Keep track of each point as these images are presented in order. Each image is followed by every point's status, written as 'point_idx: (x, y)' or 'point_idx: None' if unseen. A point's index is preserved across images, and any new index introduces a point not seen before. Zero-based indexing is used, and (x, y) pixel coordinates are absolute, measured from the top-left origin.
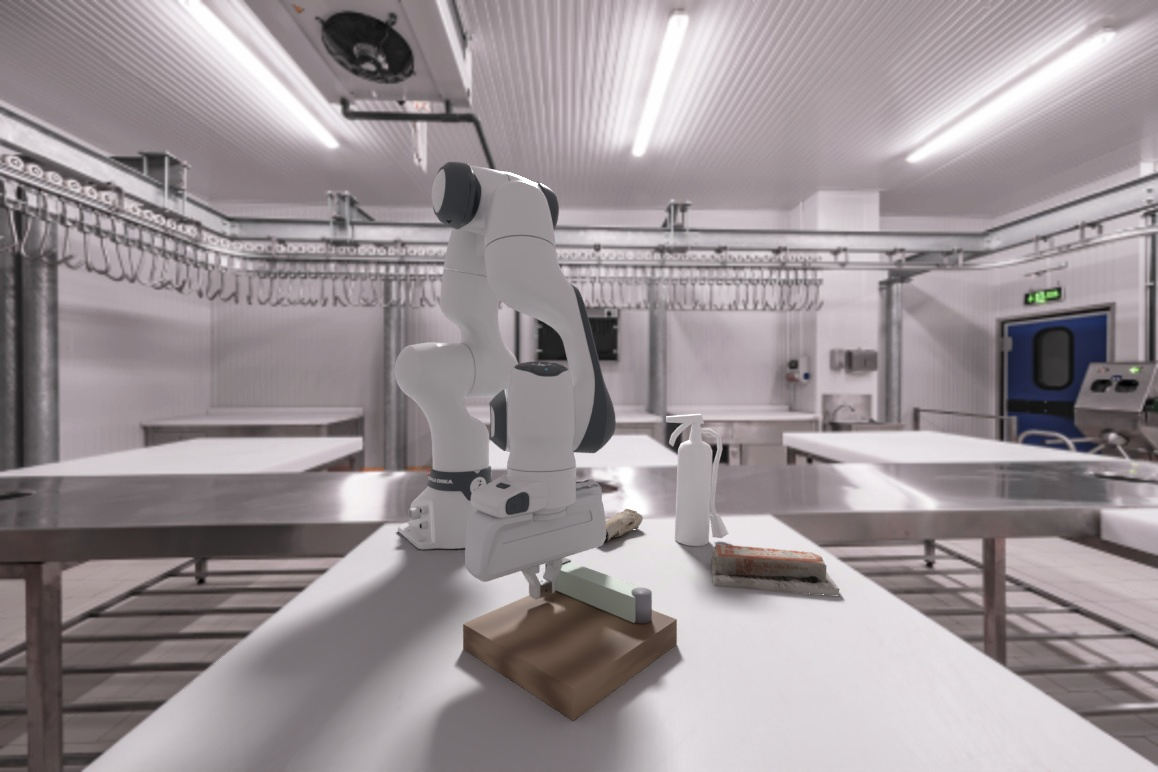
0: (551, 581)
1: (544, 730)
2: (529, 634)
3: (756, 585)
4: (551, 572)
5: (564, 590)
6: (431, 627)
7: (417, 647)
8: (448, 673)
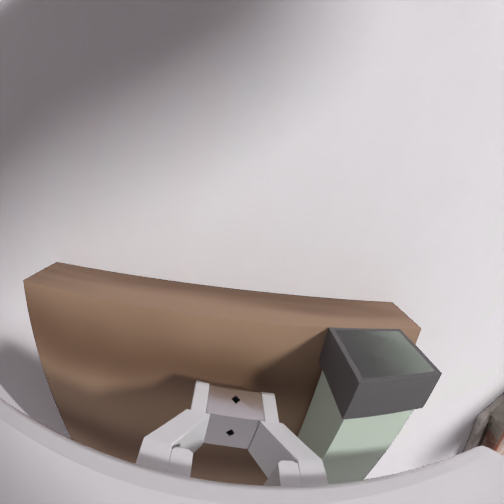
0: (249, 449)
1: None
2: (109, 422)
3: (469, 444)
4: (266, 461)
5: (315, 404)
6: (66, 121)
7: (16, 179)
8: (20, 297)
